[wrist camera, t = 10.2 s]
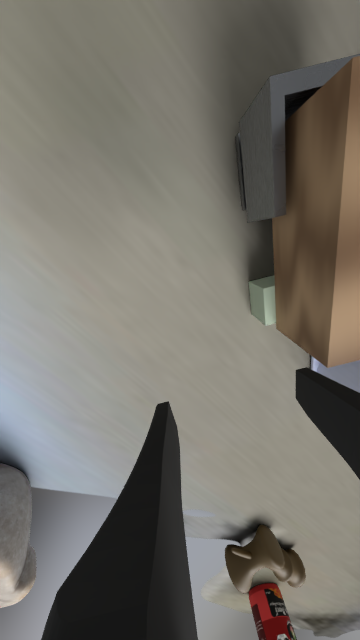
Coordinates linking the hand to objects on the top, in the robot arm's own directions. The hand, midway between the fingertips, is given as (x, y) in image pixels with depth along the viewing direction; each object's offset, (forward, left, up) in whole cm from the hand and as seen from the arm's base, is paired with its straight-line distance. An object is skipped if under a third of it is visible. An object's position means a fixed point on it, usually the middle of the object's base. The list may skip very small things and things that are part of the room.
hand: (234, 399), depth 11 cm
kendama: (-50, -3, -11) cm, 51 cm away
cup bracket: (+12, -8, -10) cm, 17 cm away
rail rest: (+2, -8, -10) cm, 13 cm away
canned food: (-76, -2, -11) cm, 77 cm away
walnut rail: (+6, -8, -7) cm, 13 cm away
